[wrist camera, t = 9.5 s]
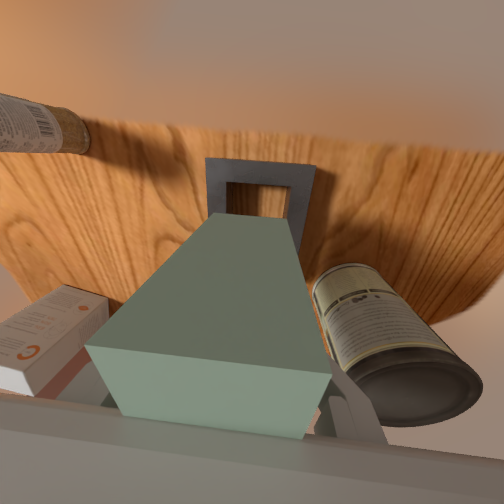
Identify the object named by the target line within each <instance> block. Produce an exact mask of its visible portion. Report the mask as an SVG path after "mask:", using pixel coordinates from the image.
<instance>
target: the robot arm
mask: <svg viewBox="0 0 504 504" xmlns="http://www.w3.org/2000/svg"><path fill="white" fill-rule="evenodd" d="M326 354H327V353H326ZM327 357H328V360H329V364H330V367H331V371H332V374H333V375H332V377H331V379H330V381H329V383H328V385H327V388H326V390H325V392H324V394H323V396H322V398H321V400H320V403H319V405H318V408H319V409H320V411H321V415H320V416H319V418H318V420H317V422H316V424H315V426H314V432H315V435H314V434H306V433H305V435H304V437H303V439H302V440H300V439H292V438H285V437H277V436H270V435H263V434H255V433H248V432H240V431H233V430H225V429H218V428H211V427H203V426H196V425H188V424H181V423H173V422H166V421H158V420H151V419H144V418H136V417H129V416H123V415H122V413H121V411H120V409H119V407H118V406H117V404H116V402H115V400H114V398H113V397H112V395H111V393H110V391H109V389H108V388H107V386H106V384H105V382H104V380H103V379H102V377H101V375H100V373H99V371H98V370H97V368H96V366H95V364H94V362H93V361H90V362H89V363H87V364H86V365H85V366H84V367H83V368H82V369H81V371H80V372H79V373H78V374H77V375H76V376H75V377H74V378H73V380H72V381H71V382H70V383H69V384H68V385H67V386H66V388H65V389H64V390H63V391H62V392H61V393H60V394H59V395H58V397H57V398H56V399H55V400H52V399H44V398H37V397H29V396H21V395H14V394H6V393H0V504H504V460H501V459H494V458H486V457H478V456H471V455H464V454H456V453H449V452H441V451H433V450H426V449H418V448H411V447H404V446H396V445H389V444H388V442H387V439H386V437H385V435H384V432H383V430H382V427H381V425H380V422H379V420H378V418H377V415H376V413H375V410H374V408H373V406H372V403H371V401H370V399H369V398H368V397H367V396H366V395H365V394H364V393H363V392H362V390H361V389H360V388H359V387H358V386H357V385H356V384H355V383H354V382H353V381H352V380H351V379H350V377H349V376H348V375H347V374H346V373H345V372H344V371H343V370H342V369H341V368H340V367H339V366H338V364H337V363H336V362H335V361H334V360H333V359H332V358H331V357H330V356H329V355H328V354H327Z"/></svg>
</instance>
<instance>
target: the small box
mask: <svg viewBox="0 0 504 504" xmlns="http://www.w3.org/2000/svg"><path fill="white" fill-rule="evenodd" d="M108 320H109V305H108V298H107V297H103V296H100V295H96V294H93V293H90V292H86V291H83V290H80V289H76V288H73V287H70V286H67V285H62V286H60V287H58V288H57V289H55V290H54V291H52V292H50V293H49V294H47V295H45V296H44V297H42V298H41V299H39V300H37V301H36V302H34V303H32V304H31V305H29V306H28V307H26V308H24V309H23V310H21V311H20V312H18V313H16V314H15V315H13V316H11V317H10V318H8V319H7V320H5V321H4V322H2V323H0V388H1V389H5V390H10V391H14V392H18V393H22V394H26V395H29V396H33V397H34V396H36V395H37V394H38V393H39V392H40V391H41V390H42V389H43V387H44V386H45V385H46V384H47V383H48V382H49V381H50V380H51V379H52V378H53V377H54V376H55V375H56V374H57V373H58V372H59V371H60V370H61V369H62V368H63V367H64V366H65V365H66V364H67V363H68V362H69V361H70V360H71V359H72V358H73V357H74V356H75V355H76V354H77V353H78V352H79V351H80V350H81V349H82V348H83V347H84V344H85V343H86V342H87V341H88V340H89V339H90V338H91V337H92V336H93V335H94V334H95V333H96V332H97V331H98V330H99V329H100V328H101V327H102V326H103V325H104V324H105V323H106V322H107V321H108Z"/></svg>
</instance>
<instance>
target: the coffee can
mask: <svg viewBox="0 0 504 504" xmlns="http://www.w3.org/2000/svg"><path fill="white" fill-rule="evenodd" d="M312 298H313V301H314V304H315V306H316V309H317V312H318V316H319V319H320V322H321V325H322V328H323V332H324V335H325V338H326V341H327V345H328V348H329V351H330V354H331V358H332V359H333V360H334V361H335V362H336V363H337V364H338V366H339V367H340V368H341V369H342V370H343V371H344V372H345V373H346V374H347V375H348V376H349V377H350V379H351V380H352V381H353V382H354V383H355V384H356V385H357V386H358V387H359V388H360V389H361V390H362V392H363V393H364V394H365V395H366V396H367V397H368V398H369V399H370V401H371V403H372V406H373V408H374V410H375V413H376V415H377V418H378V420H379V422H380V425H381V426H388V427H416V426H424V425H429V424H434V423H438V422H442V421H445V420H448V419H450V418H453V417H456V416H458V415H459V414H461V413H463V412H465V411H466V410H468V409H469V408H471V406H473V405H474V404H475V403H476V402H477V401H478V399H479V398H480V396H481V394H482V391H483V383H482V380H481V378H480V377H479V375H478V374H477V373H476V372H475V371H474V370H473V369H472V368H471V367H470V366H469V365H468V364H466V363H465V362H464V361H462V360H461V359H460V358H459V357H458V356H457V355H456V354H455V353H454V352H453V351H452V350H451V349H450V347H449V346H448V345H447V344H446V343H445V342H444V341H443V340H442V339H441V338H440V337H439V336H438V335H437V334H436V333H435V332H434V331H433V330H432V329H431V328H430V327H429V325H428V324H427V323H426V322H425V321H424V320H423V319H422V318H421V317H420V316H419V315H418V314H417V313H416V312H415V311H414V310H413V309H412V308H411V307H410V306H409V305H408V304H407V303H406V302H405V301H404V300H403V299H402V298H401V296H400V295H399V294H398V293H397V292H396V291H395V290H394V289H393V288H392V287H391V286H390V285H389V284H388V283H387V282H386V281H385V280H384V279H383V278H382V277H381V275H380V274H379V273H378V272H377V271H376V270H375V269H374V268H372V267H370V266H367V265H365V264H360V263H346V264H341V265H338V266H335V267H333V268H331V269H329V270H327V271H326V272H324V273H323V274H322V275H321V276H320V277H319V278H318V280H317V281H316V282H315V284H314V286H313V290H312Z"/></svg>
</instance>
